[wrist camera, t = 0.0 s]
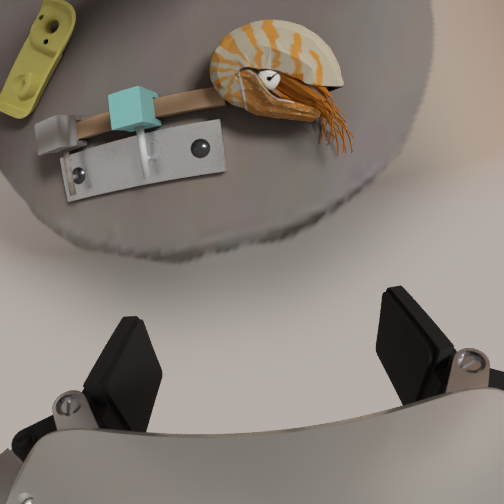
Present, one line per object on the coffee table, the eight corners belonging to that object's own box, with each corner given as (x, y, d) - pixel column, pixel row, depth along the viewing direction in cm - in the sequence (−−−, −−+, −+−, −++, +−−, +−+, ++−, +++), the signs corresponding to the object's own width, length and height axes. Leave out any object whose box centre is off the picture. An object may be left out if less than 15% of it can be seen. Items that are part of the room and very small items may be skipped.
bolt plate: (64, 157, 37) (59, 158, 36) (220, 119, 36) (219, 119, 35) (71, 200, 39) (67, 202, 38) (227, 170, 39) (226, 171, 38)
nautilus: (372, 131, 37) (287, 185, 41) (287, 9, 30) (195, 64, 33) (397, 135, 30) (295, 200, 33) (295, -13, 22) (183, 51, 26)
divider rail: (64, 123, 35) (34, 123, 28) (223, 81, 34) (217, 67, 27) (75, 193, 39) (47, 204, 32) (233, 162, 38) (230, 166, 31)
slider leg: (131, 100, 34) (108, 93, 27) (157, 93, 34) (138, 84, 27) (141, 177, 38) (120, 185, 31) (168, 172, 38) (151, 179, 31)
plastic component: (26, 122, 32) (-17, 104, 26) (40, 112, 38) (1, 95, 32) (88, 10, 25) (40, -9, 19) (96, 15, 31) (54, -3, 25)
